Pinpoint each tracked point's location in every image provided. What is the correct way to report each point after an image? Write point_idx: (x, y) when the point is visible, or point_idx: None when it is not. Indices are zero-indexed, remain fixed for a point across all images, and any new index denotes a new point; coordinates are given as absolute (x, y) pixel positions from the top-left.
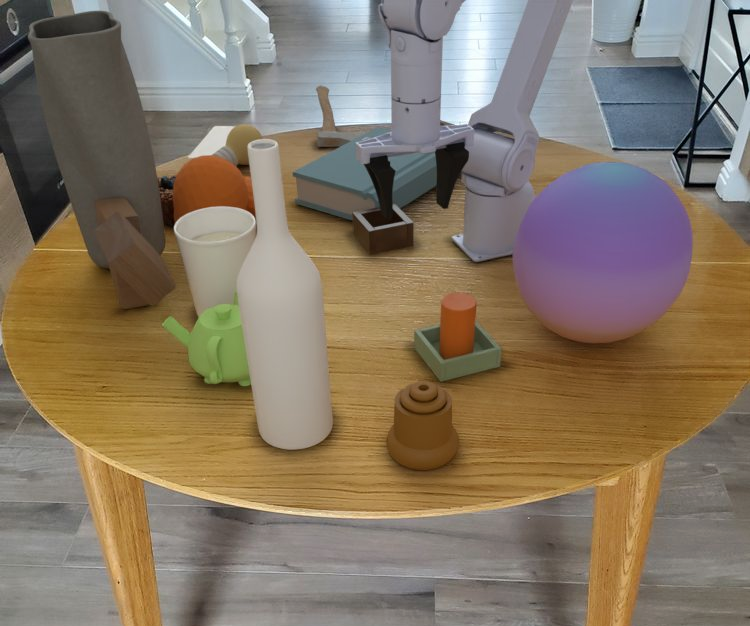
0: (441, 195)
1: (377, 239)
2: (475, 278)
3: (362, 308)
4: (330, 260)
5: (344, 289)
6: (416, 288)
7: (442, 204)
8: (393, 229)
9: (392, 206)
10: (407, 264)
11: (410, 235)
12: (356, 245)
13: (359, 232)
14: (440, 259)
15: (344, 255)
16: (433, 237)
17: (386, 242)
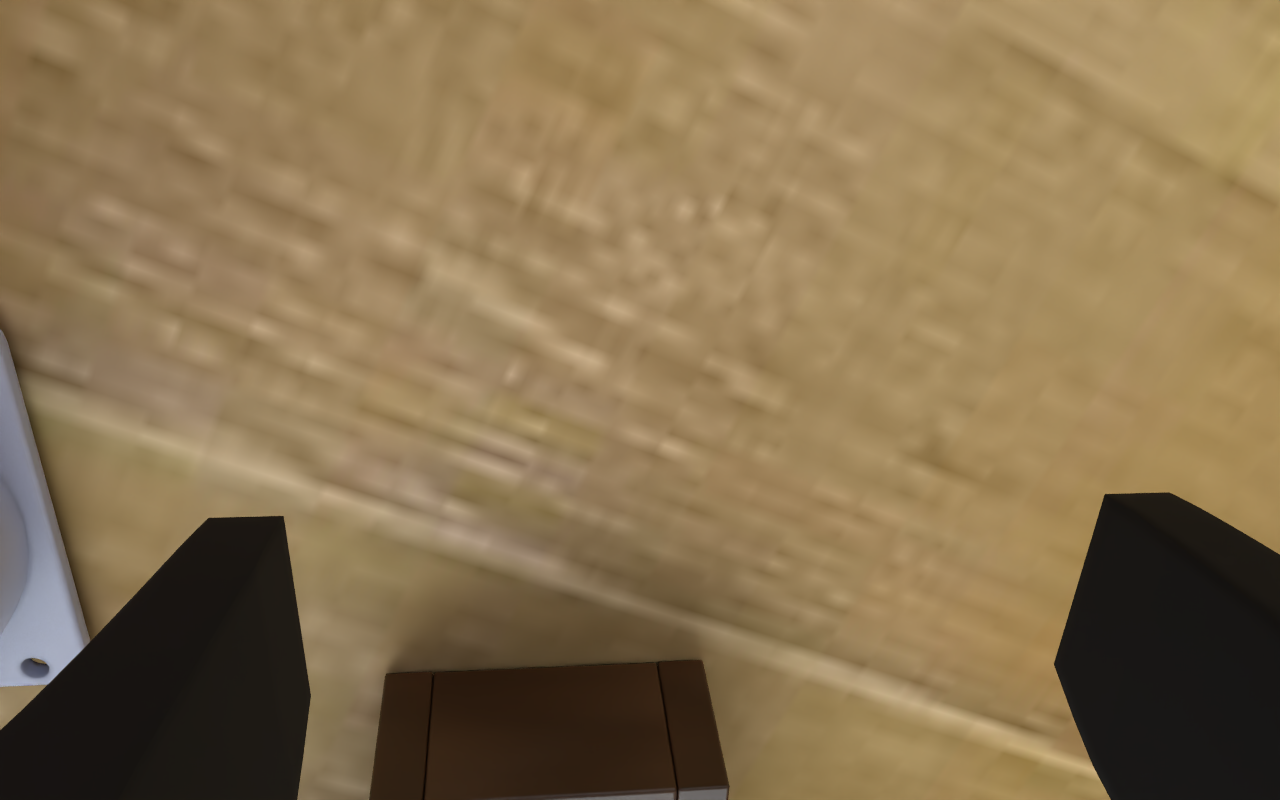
0: (255, 716)
1: (657, 733)
2: (65, 93)
3: (1125, 35)
4: (947, 672)
5: (1074, 337)
6: (609, 145)
7: (278, 580)
8: (535, 779)
9: (1235, 591)
10: (523, 481)
11: (402, 730)
12: None
13: None
14: (262, 463)
15: (843, 696)
16: None
17: (588, 709)
